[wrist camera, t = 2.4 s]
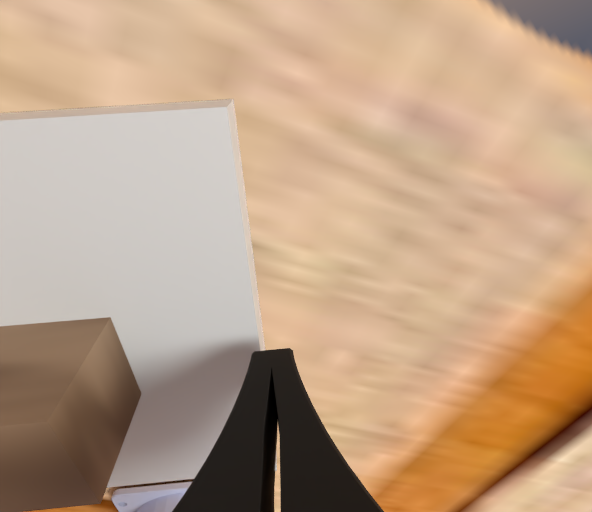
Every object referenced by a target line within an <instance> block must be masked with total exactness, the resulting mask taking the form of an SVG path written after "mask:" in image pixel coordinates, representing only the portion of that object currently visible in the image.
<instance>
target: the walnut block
mask: <svg viewBox="0 0 592 512" xmlns="http://www.w3.org/2000/svg"><path fill="white" fill-rule="evenodd" d="M140 397H141V391H140V389H139V386H138V384H137V381H136V379H135V376H134V374H133V371H132V369H131V366H130V364H129V362H128V359H127V357H126V354H125V352H124V349H123V347H122V344H121V342H120V339H119V337H118V334H117V332H116V330H115V327H114V325H113V322H112V320H111V317H107V318H95V319H83V320H71V321H59V322H47V323H35V324H23V325H11V326H0V512H23V511H33V510H42V509H52V508H62V507H71V506H81V505H91V504H101V501H102V498H103V496H104V493H105V490H106V488H107V485H108V482H109V479H110V477H111V474H112V471H113V469H114V466H115V463H116V461H117V458H118V455H119V453H120V450H121V447H122V445H123V442H124V439H125V437H126V434H127V431H128V429H129V426H130V423H131V421H132V418H133V415H134V413H135V410H136V407H137V405H138V402H139V399H140Z"/></svg>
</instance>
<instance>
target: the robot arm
mask: <svg viewBox="0 0 592 512" xmlns="http://www.w3.org/2000/svg"><path fill="white" fill-rule="evenodd" d="M277 424H278V425H279V433H280V478H281V512H384V511H383V510H382V509H381V507H380V506H379V505H378V504H377V502H376V501H375V500H374V499H373V497H372V496H371V495H370V494H369V492H368V491H367V490H366V488H365V487H364V486H363V484H362V483H361V482H360V480H359V479H358V477H357V476H356V475H355V473H354V472H353V471H352V469H351V468H350V467H349V465H348V464H347V462H346V461H345V459H344V458H343V456H342V455H341V453H340V452H339V450H338V449H337V447H336V445H335V444H334V442H333V441H332V439H331V437H330V436H329V434H328V432H327V431H326V429H325V427H324V425H323V424H322V422H321V420H320V418H319V416H318V414H317V413H316V411H315V409H314V407H313V405H312V403H311V401H310V398H309V396H308V394H307V392H306V390H305V388H304V385H303V383H302V380H301V378H300V375H299V372H298V370H297V367H296V363H295V360H294V355H293V350H291V349H290V348H287V349H276V350H264V351H254V352H253V353H252V355H251V360H250V363H249V367H248V370H247V373H246V376H245V379H244V382H243V385H242V387H241V390H240V392H239V395H238V397H237V399H236V402H235V404H234V407H233V409H232V411H231V413H230V415H229V417H228V419H227V421H226V423H225V426H224V428H223V430H222V432H221V434H220V436H219V437H218V439H217V441H216V443H215V445H214V447H213V449H212V450H211V452H210V454H209V456H208V457H207V459H206V461H205V462H204V464H203V466H202V467H201V469H200V470H199V472H198V474H197V475H196V477H195V479H194V480H193V481H191V482H181V483H171V484H161V485H151V486H141V487H132V488H122V489H117V490H115V491H114V492H113V495H112V498H111V499H112V501H113V503H114V505H115V506H116V508H117V510H118V511H119V512H274V482H275V463H276V444H277Z"/></svg>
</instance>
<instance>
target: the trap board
mask: <svg viewBox="0 0 592 512" xmlns="http://www.w3.org/2000/svg"><path fill="white" fill-rule="evenodd" d="M107 317H111V320H112V322H113V325H114V327H115V330H116V332H117V334H118V337H119V339H120V342H121V344H122V347H123V349H124V352H125V354H126V357H127V359H128V362H129V364H130V366H131V369H132V371H133V374H134V376H135V379H136V381H137V384H138V386H139V389H140V391H141V397H140V399H139V402H138V405H137V407H136V410H135V413H134V415H133V418H132V421H131V423H130V426H129V429H128V431H127V434H126V437H125V439H124V442H123V445H122V447H121V450H120V453H119V455H118V458H117V461H116V463H115V466H114V469H113V471H112V474H111V477H110V479H109V482H108V485H107V488H108V487H118V486H128V485H137V484H147V483H157V482H167V481H177V480H187V479H195V477H196V475H197V474H198V472H199V470H200V469H201V467H202V466H203V464H204V462H205V461H206V459H207V457H208V456H209V454H210V452H211V450H212V449H213V447H214V445H215V443H216V441H217V439H218V437H219V436H220V434H221V432H222V430H223V428H224V426H225V423H226V421H227V419H228V417H229V415H230V413H231V411H232V409H233V407H234V404H235V402H236V399H237V397H238V395H239V392H240V390H241V387H242V385H243V382H244V379H245V376H246V373H247V370H248V367H249V363H250V360H251V355H252V353H253V352H254V351H264V350H265V343H264V335H263V328H262V320H261V312H260V304H259V296H258V288H257V280H256V273H255V265H254V257H253V249H252V241H251V233H250V225H249V217H248V210H247V202H246V194H245V186H244V178H243V170H242V162H241V155H240V147H239V139H238V131H237V123H236V115H235V107H234V99H225V100H208V101H192V102H175V103H159V104H142V105H126V106H109V107H92V108H76V109H59V110H43V111H26V112H10V113H0V326H11V325H23V324H35V323H47V322H59V321H71V320H83V319H95V318H107ZM276 470H277V459H276V463H275V471H276Z"/></svg>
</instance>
